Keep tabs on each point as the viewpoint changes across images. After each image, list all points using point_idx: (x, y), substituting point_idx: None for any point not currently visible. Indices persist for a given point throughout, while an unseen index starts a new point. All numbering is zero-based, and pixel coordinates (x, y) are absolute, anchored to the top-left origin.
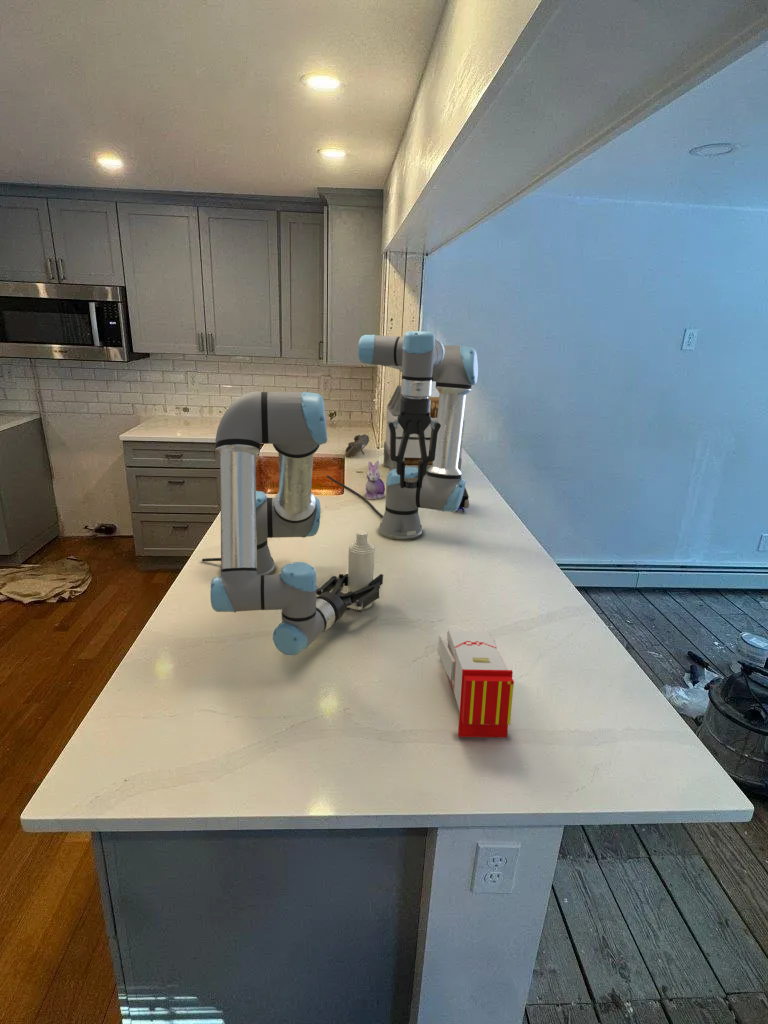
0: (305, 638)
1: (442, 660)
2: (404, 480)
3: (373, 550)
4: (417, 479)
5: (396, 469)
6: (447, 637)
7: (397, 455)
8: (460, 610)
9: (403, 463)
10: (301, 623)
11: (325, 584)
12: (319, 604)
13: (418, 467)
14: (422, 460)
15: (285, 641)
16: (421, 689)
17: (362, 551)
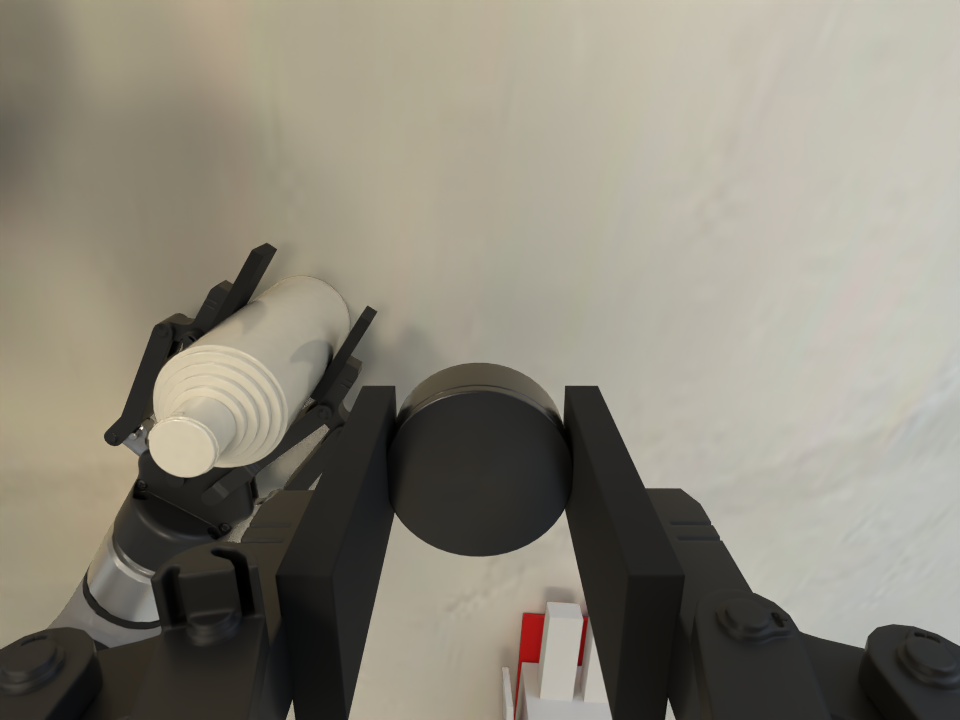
0: None
1: (503, 713)
2: (398, 493)
3: (283, 434)
4: (567, 454)
5: (250, 537)
6: (547, 605)
7: (144, 694)
8: (653, 379)
9: (319, 702)
10: None
11: (137, 394)
12: (135, 606)
13: (603, 535)
14: (682, 714)
15: None
16: (450, 695)
17: (225, 466)
